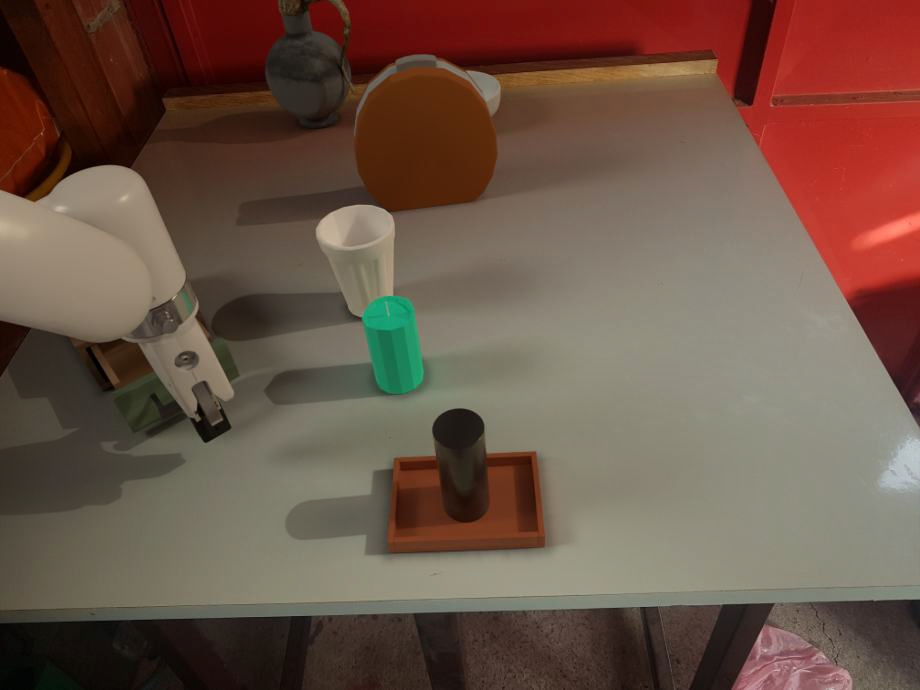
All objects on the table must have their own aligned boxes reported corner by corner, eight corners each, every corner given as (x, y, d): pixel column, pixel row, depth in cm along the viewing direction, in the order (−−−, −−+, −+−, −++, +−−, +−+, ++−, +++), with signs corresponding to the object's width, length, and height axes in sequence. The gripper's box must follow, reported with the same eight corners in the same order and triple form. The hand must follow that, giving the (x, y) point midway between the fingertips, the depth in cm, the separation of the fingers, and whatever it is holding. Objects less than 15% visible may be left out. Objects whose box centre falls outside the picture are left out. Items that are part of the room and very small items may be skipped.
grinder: (442, 523, 70) (431, 450, 61) (443, 484, 73) (432, 409, 65) (490, 522, 69) (485, 447, 61) (489, 482, 73) (483, 406, 65)
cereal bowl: (491, 146, 126) (490, 108, 122) (404, 141, 130) (400, 105, 125) (508, 105, 138) (508, 69, 133) (428, 101, 142) (425, 67, 137)
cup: (367, 339, 91) (349, 259, 82) (320, 308, 96) (298, 229, 87) (421, 301, 96) (410, 221, 87) (374, 273, 101) (359, 195, 92)
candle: (405, 352, 89) (392, 278, 80) (434, 377, 85) (423, 302, 77) (366, 375, 86) (349, 301, 78) (394, 402, 83) (379, 327, 74)
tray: (389, 552, 68) (387, 542, 67) (396, 468, 76) (394, 457, 74) (544, 546, 67) (545, 536, 66) (536, 461, 75) (536, 451, 74)
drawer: (256, 395, 84) (242, 360, 80) (147, 456, 78) (126, 422, 74) (193, 319, 95) (178, 285, 91) (94, 367, 89) (73, 334, 85)
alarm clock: (490, 168, 121) (485, 34, 105) (499, 198, 114) (495, 59, 98) (364, 183, 120) (339, 51, 104) (365, 214, 113) (339, 77, 97)
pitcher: (301, 104, 145) (263, -57, 125) (380, 115, 139) (354, -52, 118) (270, 127, 138) (225, -39, 118) (352, 140, 132) (320, -33, 111)
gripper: (224, 324, 59) (278, 454, 72) (160, 249, 68) (218, 377, 81) (139, 367, 56) (212, 495, 69) (83, 283, 65) (156, 410, 78)
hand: (215, 431), depth 75 cm, fingers closed
